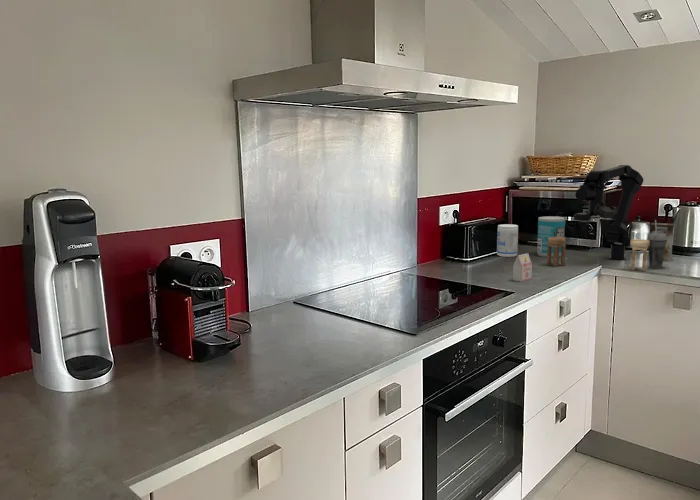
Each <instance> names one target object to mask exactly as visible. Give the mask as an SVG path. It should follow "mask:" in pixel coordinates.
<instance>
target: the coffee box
mask: <svg viewBox="0 0 700 500" xmlns="http://www.w3.org/2000/svg"><path fill="white" fill-rule="evenodd" d="M656 225H657V230H659V231H662V232H664V233H665V235H666V237H667V243H666V246H665V251H664V257H663V262H671V261H672V256H673V254H672V253H673V240H674V231H675V230H674V229H675V223H669V222H668V223H665V222H663V223H662V222H656ZM649 227H650V231H649V234H650V233H651V232H653V231H655V222H651V223H650V226H649ZM647 254H648V255H647V260H648V261H649V253H647Z"/></svg>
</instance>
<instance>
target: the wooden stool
mask: <svg viewBox="0 0 700 500" xmlns="http://www.w3.org/2000/svg"><path fill="white" fill-rule="evenodd" d="M566 245H567V244H566V237H565V236H564V237H548V248H547V257H546V265H547V266H552V267H555V268H556V267H558V265H559V262H560V266H561V267H565V266H566V247H567V246H566ZM552 247H554V253H553V257H551V251H552ZM559 247H561V257H559ZM552 258H553V259H552ZM552 260H553V263H552Z"/></svg>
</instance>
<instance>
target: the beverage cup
mask: <svg viewBox="0 0 700 500" xmlns="http://www.w3.org/2000/svg"><path fill="white" fill-rule="evenodd" d="M654 223H655V231H653V232H651V233H650V232H649V234H648V237H647V239H646V240H649V241H650V245H649V246H648V254H649V260H648V264H649V268H650V269H656V270H658V269H662V267H663V263H664V261H663V257H664V251H665V246H666V243H667V237H666V235H665V233H664V232H662V231H659V230H657V225H656V223H657V219H654Z"/></svg>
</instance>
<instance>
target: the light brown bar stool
mask: <svg viewBox="0 0 700 500" xmlns="http://www.w3.org/2000/svg"><path fill="white" fill-rule="evenodd" d="M649 245H650V241H649V240H647V239H644V238H641V239H640V238H639V239H638V238H632V239H630V246H631V247H632V250H631V251H632V252H631V266H630V267H631V269H630V270H631V271H635V269H636V255H637V251H642V261H641V262H642V263H641V265H642V266H641V270H642V271H644V272H646V270H647V259H648V255H647V254H648V247H649Z"/></svg>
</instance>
